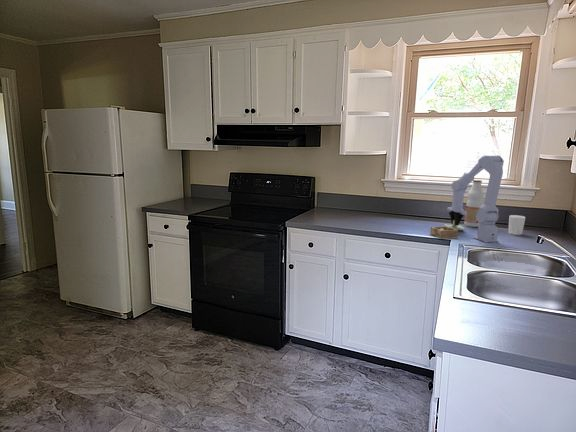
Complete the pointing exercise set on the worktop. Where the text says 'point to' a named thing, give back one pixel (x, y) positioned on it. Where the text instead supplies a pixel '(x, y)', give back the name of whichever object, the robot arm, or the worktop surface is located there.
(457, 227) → the lid
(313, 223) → the worktop surface
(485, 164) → the robot arm
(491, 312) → the worktop surface
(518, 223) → the white cup
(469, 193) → the fruit juice
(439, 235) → the box
